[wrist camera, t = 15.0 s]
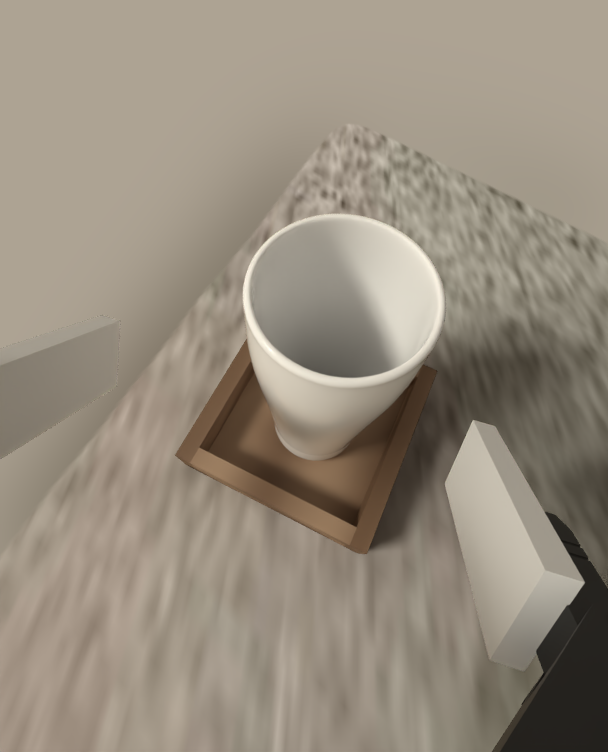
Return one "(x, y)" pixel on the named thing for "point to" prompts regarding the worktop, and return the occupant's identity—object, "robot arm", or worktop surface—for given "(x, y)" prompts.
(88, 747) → the worktop surface
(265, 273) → the white tumbler cup
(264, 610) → the worktop surface
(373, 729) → the worktop surface
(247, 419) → the walnut tray
